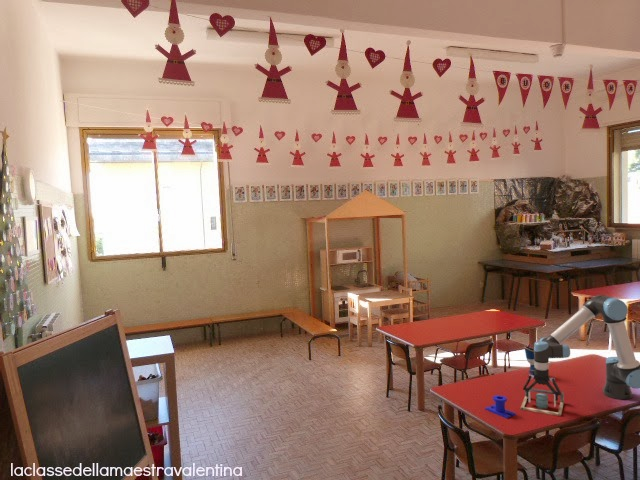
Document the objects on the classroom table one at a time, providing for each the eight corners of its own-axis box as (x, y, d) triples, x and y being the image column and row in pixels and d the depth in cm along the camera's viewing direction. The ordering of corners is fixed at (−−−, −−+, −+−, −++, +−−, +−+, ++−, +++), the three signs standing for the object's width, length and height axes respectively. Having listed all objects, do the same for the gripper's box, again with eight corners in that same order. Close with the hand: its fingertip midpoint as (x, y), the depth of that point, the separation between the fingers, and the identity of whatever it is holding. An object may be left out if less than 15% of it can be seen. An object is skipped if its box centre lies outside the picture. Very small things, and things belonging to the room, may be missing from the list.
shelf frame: (563, 403, 282) (563, 401, 282) (560, 416, 265) (560, 414, 265) (525, 397, 293) (525, 395, 293) (520, 409, 276) (520, 407, 276)
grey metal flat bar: (563, 403, 282) (563, 392, 282) (563, 404, 281) (563, 393, 280) (525, 397, 293) (525, 387, 293) (525, 398, 292) (524, 388, 291)
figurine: (541, 378, 322) (541, 349, 321) (527, 378, 324) (526, 349, 323) (537, 372, 335) (536, 344, 334) (523, 372, 337) (522, 344, 336)
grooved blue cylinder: (548, 405, 279) (548, 394, 279) (547, 409, 274) (547, 398, 273) (536, 404, 283) (536, 392, 282) (535, 408, 277) (535, 396, 277)
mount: (485, 409, 278) (484, 395, 277) (493, 406, 282) (493, 392, 281) (507, 418, 265) (506, 403, 264) (515, 415, 269) (515, 400, 268)
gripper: (566, 369, 274) (566, 405, 275) (519, 363, 287) (520, 398, 288) (565, 373, 267) (565, 410, 268) (517, 367, 280) (518, 402, 281)
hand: (542, 404), depth 278 cm, fingers open, 13 cm apart
